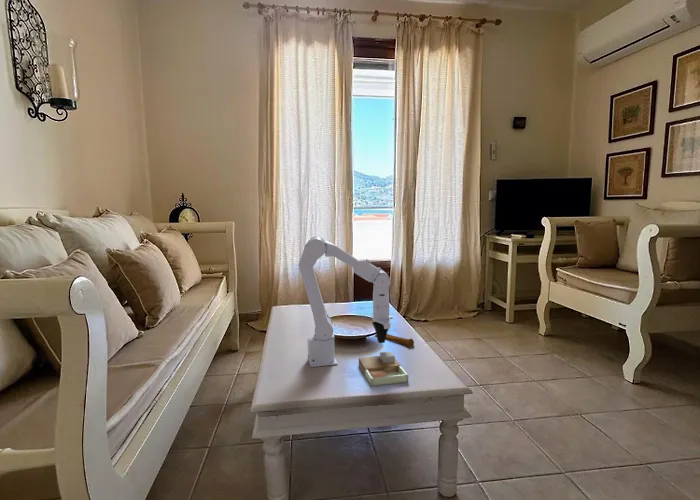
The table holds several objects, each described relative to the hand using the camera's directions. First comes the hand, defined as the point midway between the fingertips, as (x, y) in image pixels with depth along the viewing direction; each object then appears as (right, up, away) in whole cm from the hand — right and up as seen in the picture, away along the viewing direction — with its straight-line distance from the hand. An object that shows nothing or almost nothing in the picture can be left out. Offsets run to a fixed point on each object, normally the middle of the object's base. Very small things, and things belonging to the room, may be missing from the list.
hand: (381, 342), depth 140 cm
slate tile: (+1, -5, -6) cm, 8 cm away
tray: (0, -8, -15) cm, 17 cm away
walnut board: (-1, -7, -7) cm, 10 cm away
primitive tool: (+6, -5, +20) cm, 21 cm away
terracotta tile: (-2, -6, -16) cm, 17 cm away
